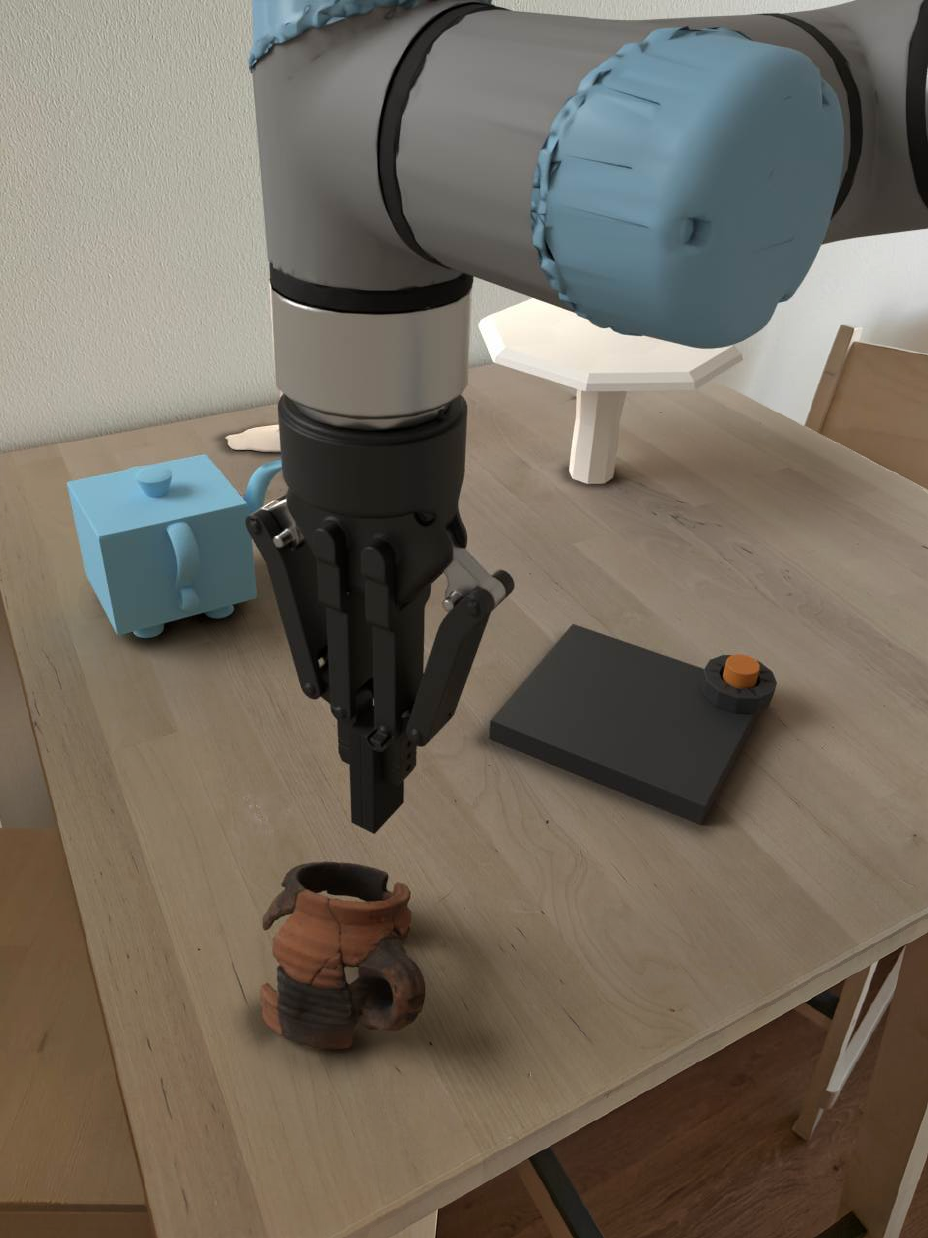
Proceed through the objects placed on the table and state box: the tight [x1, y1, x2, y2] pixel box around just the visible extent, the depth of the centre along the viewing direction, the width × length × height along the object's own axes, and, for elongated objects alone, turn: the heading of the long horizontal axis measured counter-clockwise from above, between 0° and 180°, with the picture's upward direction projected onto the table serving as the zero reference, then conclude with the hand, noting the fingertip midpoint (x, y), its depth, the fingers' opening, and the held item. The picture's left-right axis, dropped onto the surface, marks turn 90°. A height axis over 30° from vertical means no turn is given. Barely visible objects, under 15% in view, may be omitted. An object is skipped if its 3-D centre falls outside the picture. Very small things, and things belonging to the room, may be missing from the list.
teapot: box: [66, 453, 282, 639], centre depth 88 cm, size 18×16×13 cm
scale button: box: [723, 653, 760, 689], centre depth 79 cm, size 3×3×2 cm
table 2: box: [477, 297, 744, 485], centre depth 110 cm, size 28×28×17 cm
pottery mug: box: [259, 861, 427, 1050], centre depth 58 cm, size 12×9×8 cm
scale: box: [488, 623, 778, 825], centre depth 79 cm, size 18×16×4 cm
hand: (377, 812), depth 53 cm, fingers closed
